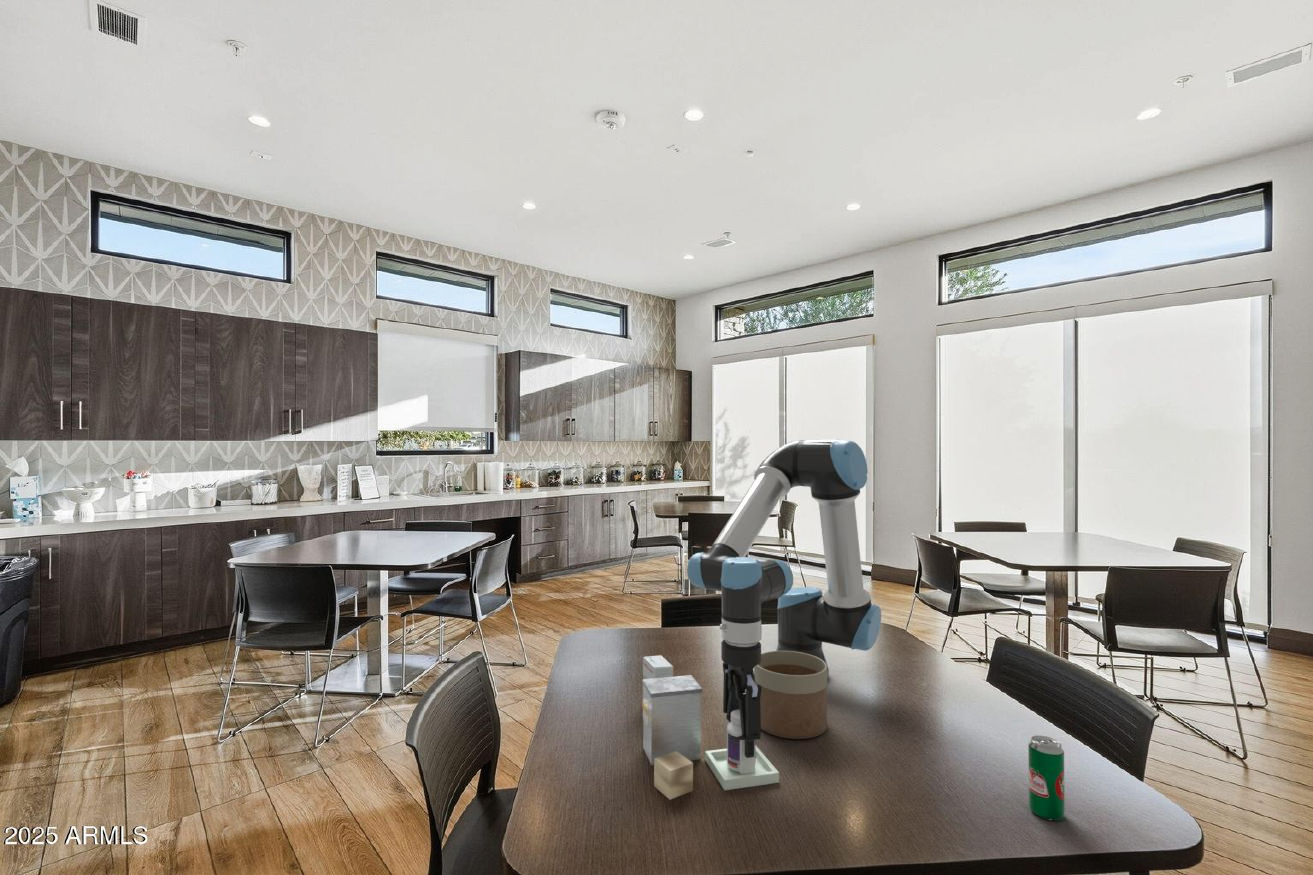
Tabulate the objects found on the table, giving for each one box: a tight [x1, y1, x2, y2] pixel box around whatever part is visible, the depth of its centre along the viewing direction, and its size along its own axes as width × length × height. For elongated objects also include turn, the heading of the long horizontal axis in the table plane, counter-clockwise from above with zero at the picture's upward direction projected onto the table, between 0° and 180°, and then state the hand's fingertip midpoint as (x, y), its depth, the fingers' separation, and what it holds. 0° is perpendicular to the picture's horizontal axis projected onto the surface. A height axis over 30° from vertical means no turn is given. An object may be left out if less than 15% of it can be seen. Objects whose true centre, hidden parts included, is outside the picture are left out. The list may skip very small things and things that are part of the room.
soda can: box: [1027, 735, 1066, 821], centre depth 101 cm, size 5×5×12 cm
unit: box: [641, 674, 703, 766], centre depth 120 cm, size 11×7×14 cm
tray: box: [704, 745, 780, 791], centre depth 113 cm, size 11×11×2 cm
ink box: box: [642, 654, 674, 700], centre depth 139 cm, size 9×5×12 cm, turn 20°
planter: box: [753, 650, 828, 740], centre depth 133 cm, size 16×16×14 cm
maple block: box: [653, 751, 694, 800], centre depth 107 cm, size 5×5×5 cm
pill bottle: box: [726, 710, 757, 772], centre depth 113 cm, size 5×5×10 cm
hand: (741, 763), depth 113 cm, fingers closed on pill bottle, 5 cm apart
